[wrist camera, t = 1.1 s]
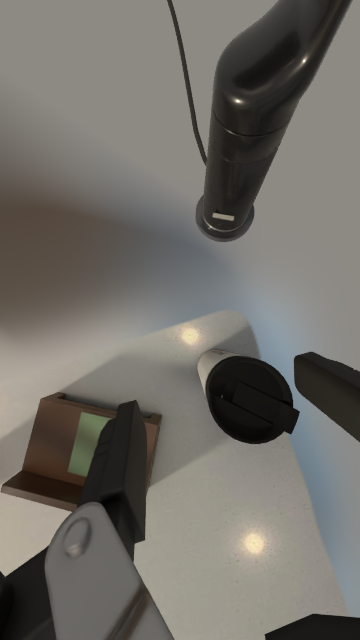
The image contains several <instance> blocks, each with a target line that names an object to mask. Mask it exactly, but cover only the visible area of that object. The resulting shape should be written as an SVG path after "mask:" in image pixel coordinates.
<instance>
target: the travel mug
mask: <svg viewBox="0 0 360 640" xmlns="http://www.w3.org/2000/svg"><path fill="white" fill-rule="evenodd" d="M198 372H199V376H200V379H201V383H202V386H203V390H204V393H205V397H206V400H207V403H208V405H209V408H210V412H211V414H212V416H213V418H214V420H215V422H216V423H217V424H218V426H219V427H220V428H221V429H222V430H223V431H224V432H225V433H226V434H228V435H229V436H231V437H232V438H234V439H236V440H238V441H241V442H244V443H249V444H261V443H266V442H269V441H271V440H274V439H276V438H277V437H278V436H280V435H281V434H282V433H283V432H284V431H285V432H287V433H289V434H292V432H293V430H294V427H295V425H296V422H297V419H298V416H299V413H300V412H299V411H298V410H296V409H294V408H293V399H292V393H291V390H290V388H289V385H288V384H287V382H286V380H285V379H284V377H283V376H282V375H281V374H280V373H279V371H277V370H276V369H275V368H274V367H272V366H271V365H269V364H268V363H266V362H264V361H261V360H258V359H255V358H251V357H248V356H244V355H239V354H235V353H230V352H226V351H221V350H209V351H207V352H205V353H204V354H203V355H202V356H201V357H200V359H199V361H198Z"/></svg>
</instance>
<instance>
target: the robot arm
mask: <svg viewBox="0 0 360 640" xmlns="http://www.w3.org/2000/svg"><path fill="white" fill-rule="evenodd" d="M167 1H168V5H169V8H170V11H171V15H172V18H173V23H174V27H175V31H176V35H177V40H178V45H179V49H180V55H181V60H182V66H183V72H184V78H185V83H186V89H187V95H188V101H189V107H190V112H191V118H192V125H193V130H194V134H195V138H196V141H197V144H198V147H199V151H200V154H201V157H202V160H203V162H204V164H205V165H206V176H205V187H204V197H203V205H202V218H203V220H204V222H205V224H206V225H207V226H208V227H209V228H210V229H212V230H214V231H216V232H220V233H229V232H233V231H236V230H238V229H239V228H240V227H242V226H243V224H244V223H245V222H246V220H247V217H248V215H249V212H250V210H251V207H252V205H253V203H254V201H255V199H256V196H257V194H258V192H259V190H260V188H261V185H262V183H263V181H264V178H265V176H266V174H267V172H268V170H269V167H270V165H271V163H272V161H273V159H274V156H275V154H276V152H277V150H278V147H279V145H280V143H281V140H282V138H283V136H284V134H285V131H286V129H287V127H288V125H289V123H290V120H291V118H292V116H293V113H294V111H295V109H296V107H297V104H298V103H299V100H300V99H301V97H302V96H303V94H304V93H305V92H306V90H307V89H308V87H309V86H310V84H311V82H312V81H313V79H314V77H315V75H316V73H317V71H318V69H319V67H320V65H321V63H322V61H323V59H324V57H325V55H326V53H327V51H328V49H329V47H330V45H331V43H332V41H333V39H334V37H335V35H336V33H337V31H338V29H339V27H340V25H341V23H342V21H343V19H344V17H345V15H346V13H347V11H348V9H349V7H350V5H351V3H352V0H278V2H277V3H276V4H275V5H274V6H273V7H272V8H271V9H270V10H269V11H268V12H267V13H266V14H265V15H264V16H263V17H262V18H261V19H259V20H258V21H257V22H256V23H254V24H253V25H251V26H250V27H249V28H247V29H246V30H244V31H243V32H242V33H240V34H239V35H237V36H236V37H235V38H234V39H233V40H232V41H231V42H230V43H229V44H228V45H227V47H226V48H225V49H224V51H223V52H222V54H221V56H220V58H219V61H218V63H217V67H216V71H215V77H214V84H213V95H212V108H211V119H210V131H209V143H208V154H207V157H206V155H205V152H204V148H203V145H202V141H201V138H200V135H199V132H198V128H197V121H196V116H195V110H194V104H193V99H192V93H191V87H190V81H189V76H188V70H187V64H186V59H185V54H184V49H183V44H182V39H181V35H180V30H179V26H178V22H177V18H176V14H175V11H174V7H173V4H172V1H171V0H167ZM294 379H295V380H294V381H295V386H296V388H297V390H298V391H299V393H301V395H302V396H304V397H305V398H306V399H308V400H309V401H310V402H311V403H312V404H313V405H315V406H316V407H317V408H318V409H320V410H321V411H322V412H323V413H325V414H326V415H327V416H328V417H329V418H331V419H332V420H333V421H335V422H336V423H337V424H338V425H339V426H341V427H342V428H343V429H344V430H346V431H347V432H348V433H349V434H350V435H352V436H353V437H354V438H355V439H356V440H358V441H359V442H360V372H359V371H357V370H354V369H353V368H351V367H349V366H347V365H345V364H343V363H340V362H337V361H333V360H329V359H326V358H324V357H322V356H320V355H318V354H316V353H314V352H308V353H304V354H301V355H297V356H295V358H294ZM146 473H147V432H146V427H145V424H144V421H143V418H142V414H141V411H140V408H139V405H138V403H137V401H136V400H134V401H130V402H127V403H123V404H120V405H119V406H118V410H117V414H116V418H114V419H110V420H108V422H107V423H106V425H105V426H104V427H103V429H102V430H101V432H100V435H99V439H98V442H97V446H96V448H95V451H94V457H93V458H92V461H91V464H90V467H89V470H88V474H87V477H86V480H85V483H84V486H83V489H82V493H81V496H80V499H79V502H78V505H77V508H76V510H74V511H73V512H72V513H71V514H70V515H69V516H68V517H67V518H66V519H65V520H64V522H63V523H62V524H61V525H60V527H59V528H58V530H57V531H56V533H55V535H54V537H53V538H52V541H51V543H50V545H49V546H47V547H46V548H45V549H44V550H42V551H41V552H40V553H38V554H37V555H35V556H34V557H33V558H31V559H30V560H28V561H27V562H26V563H24V564H23V565H21V566H20V567H19V568H17V569H16V570H14V571H13V572H12V573H10V574H9V575H7V576H6V577H5V576H4V575H3V574H2V573H1V571H0V640H174V638H173V636H172V634H171V632H170V630H169V628H168V626H167V625H166V623H165V621H164V619H163V617H162V615H161V613H160V611H159V609H158V608H157V606H156V604H155V602H154V600H153V598H152V596H151V594H150V593H149V591H148V589H147V588H146V586H145V584H144V582H143V581H142V579H141V577H140V575H139V573H138V571H137V569H136V567H135V565H134V563H133V561H134V545H135V543H138V542H141V541H144V540H145V518H146ZM265 639H266V640H360V618H356V617H345V616H333V615H321V614H311V615H309V616H307V617H304V618H302V619H300V620H297V621H295V622H293V623H290V624H288V625H286V626H283V627H281V628H279V629H276V630H274V631H272V632H269V633H267V634H265Z"/></svg>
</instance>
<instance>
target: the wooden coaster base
mask: <svg viewBox="0 0 360 640" xmlns="http://www.w3.org/2000/svg"><path fill="white" fill-rule="evenodd" d="M65 395H66V394H63V393H59V392H58V393H55V394H52V395H49V396H47V397H44V398H41V399H40V403H39V407H38V411H37V415H36V418H35V422H34V426H33V430H32V434H31V437H30V441H29V445H28V449H27V452H26V456H25V460H24V464H23V468H22V471H20V472H19V473H17V474H16V475H15V476H13V477H12V478H11V479H9V480H8V481H7V482H5V483H4V484H3V485H2V488H1V492H2V493H5V494H9V495H13V496H16V497H20V498H24V499H27V500H31V501H35V502H38V503H42V504H45V505H49V506H53V507H56V508H60V509H64V510H67V511H71V512H73V511H74V510H76V508H77V505H78V502H79V499H80V496H81V493H82V489H83V486H84V483H85V480H86V477H87V474H88V470H89V467H90V464H91V461H92V458H93V457H94V451H95V448H96V446H97V442H98V439H99V435H100V432H101V430H102V429H103V427H104V426H105V425H106V423H107V422H108V420H110V419H114V418H116V414H117V411H113V410H108V409H104V408H99V407H95V406H90V405H86V404H81V403H77V402H72V401H68V400H64V399H65ZM142 418H143V421H144V424H145V427H146V432H147V473H146V495H147V492H148V488H149V483H150V477H151V472H152V467H153V461H154V456H155V450H156V445H157V440H158V434H159V429H160V424H161V418H162V415H158V414H154V413H153V415H152V417H151V419H149V418H144V417H142Z"/></svg>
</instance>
